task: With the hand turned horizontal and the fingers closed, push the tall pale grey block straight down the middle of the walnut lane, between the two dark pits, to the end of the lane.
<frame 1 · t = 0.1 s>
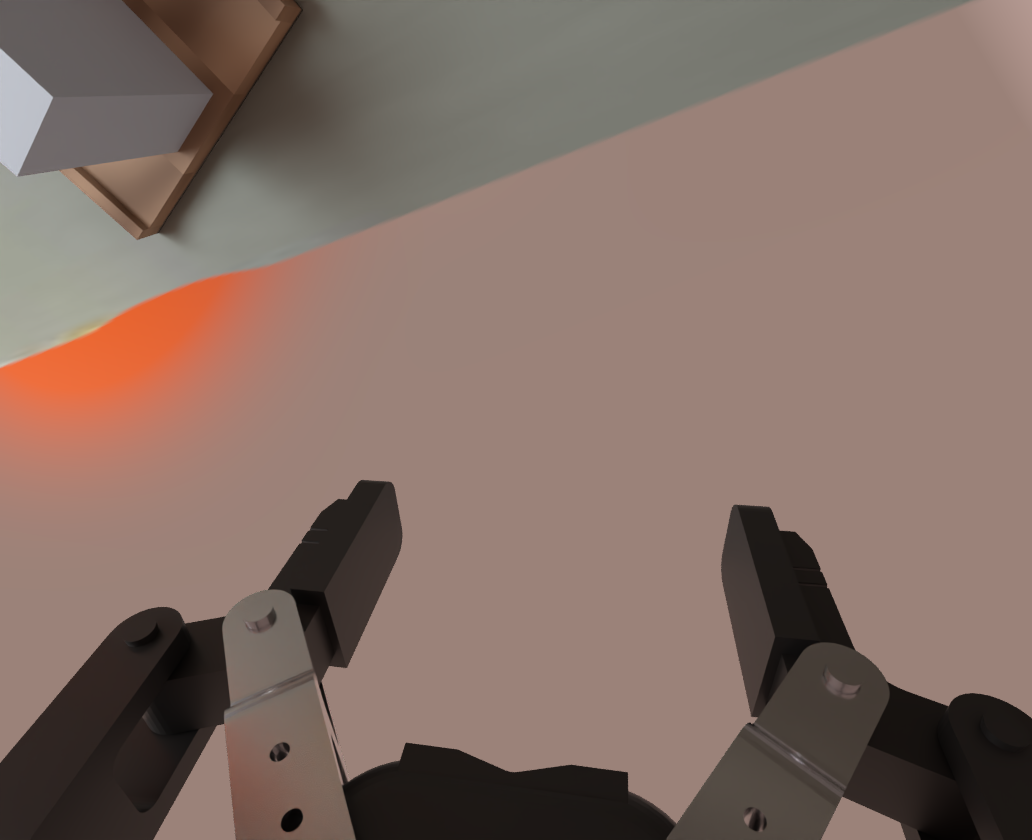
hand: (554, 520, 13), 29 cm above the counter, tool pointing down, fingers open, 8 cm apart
block: (114, 44, 35), point 2 cm above the counter, touching lane
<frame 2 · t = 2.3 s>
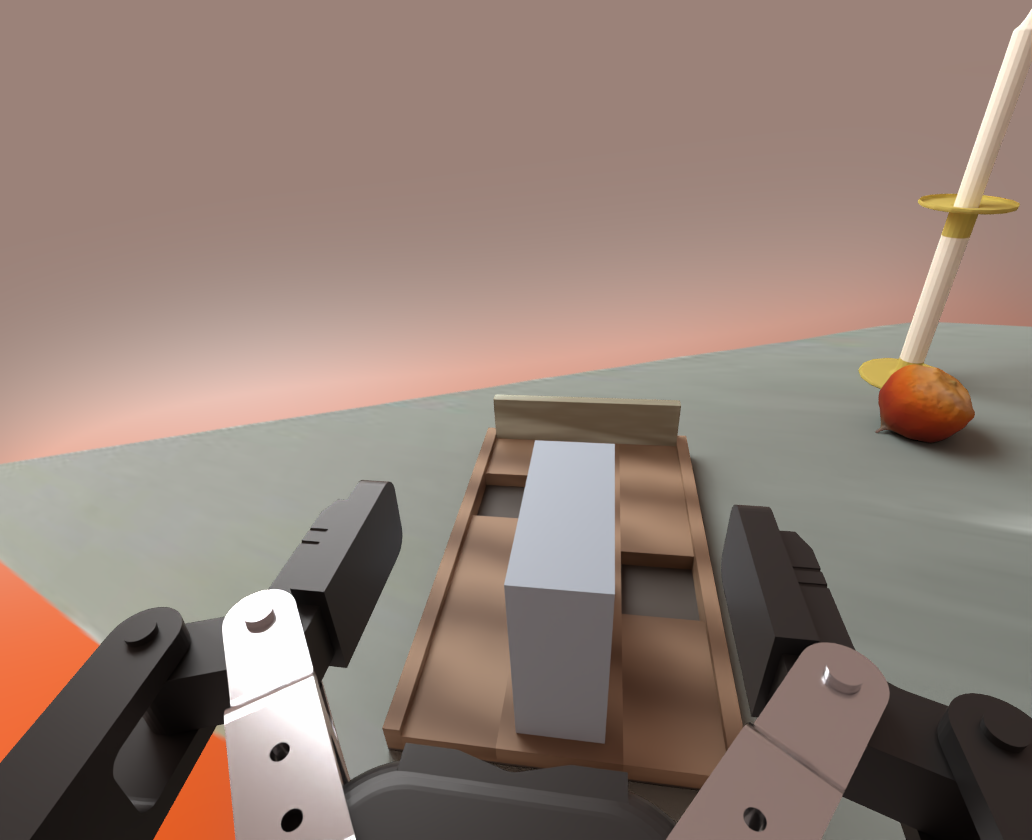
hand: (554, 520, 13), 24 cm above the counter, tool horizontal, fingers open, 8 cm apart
candle: (904, 379, 69), on the counter
fruit: (912, 433, 59), on the counter
lane: (575, 562, 45), on the counter
block: (567, 646, 37), point 2 cm above the counter, touching lane
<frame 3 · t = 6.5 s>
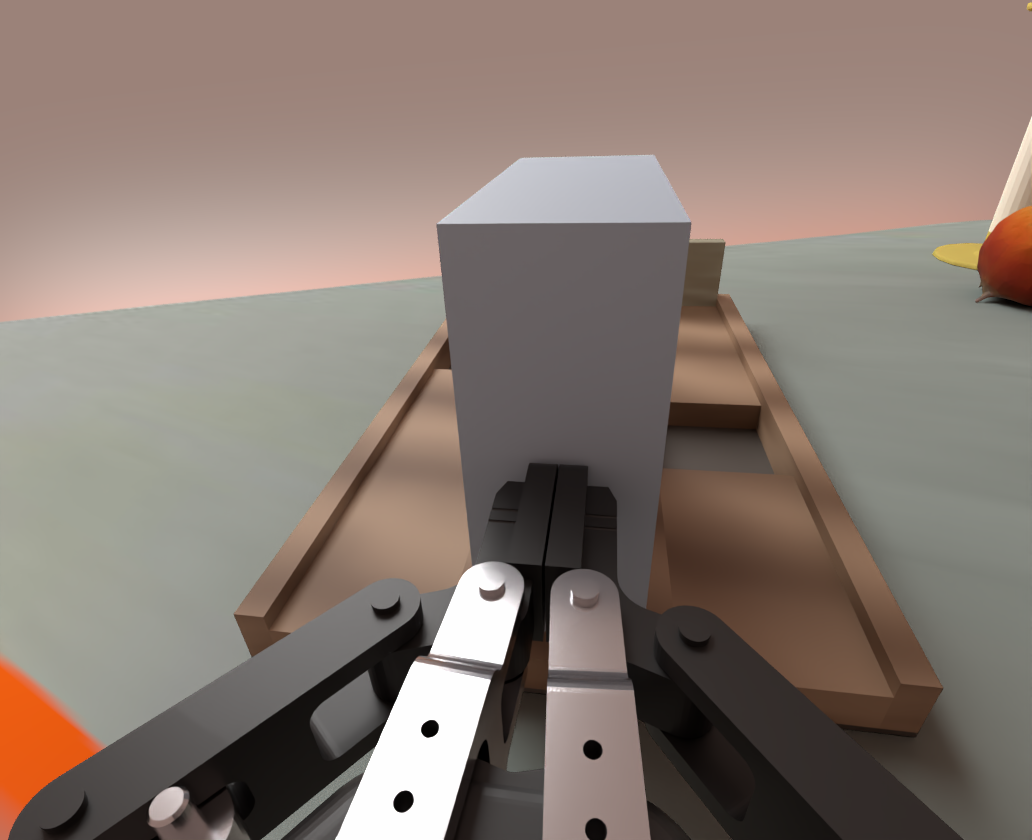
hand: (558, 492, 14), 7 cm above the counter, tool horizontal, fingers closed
candle: (993, 261, 55), on the counter
fruit: (1024, 303, 45), on the counter
lane: (581, 424, 31), on the counter
block: (571, 506, 22), point 2 cm above the counter, touching gripper, lane
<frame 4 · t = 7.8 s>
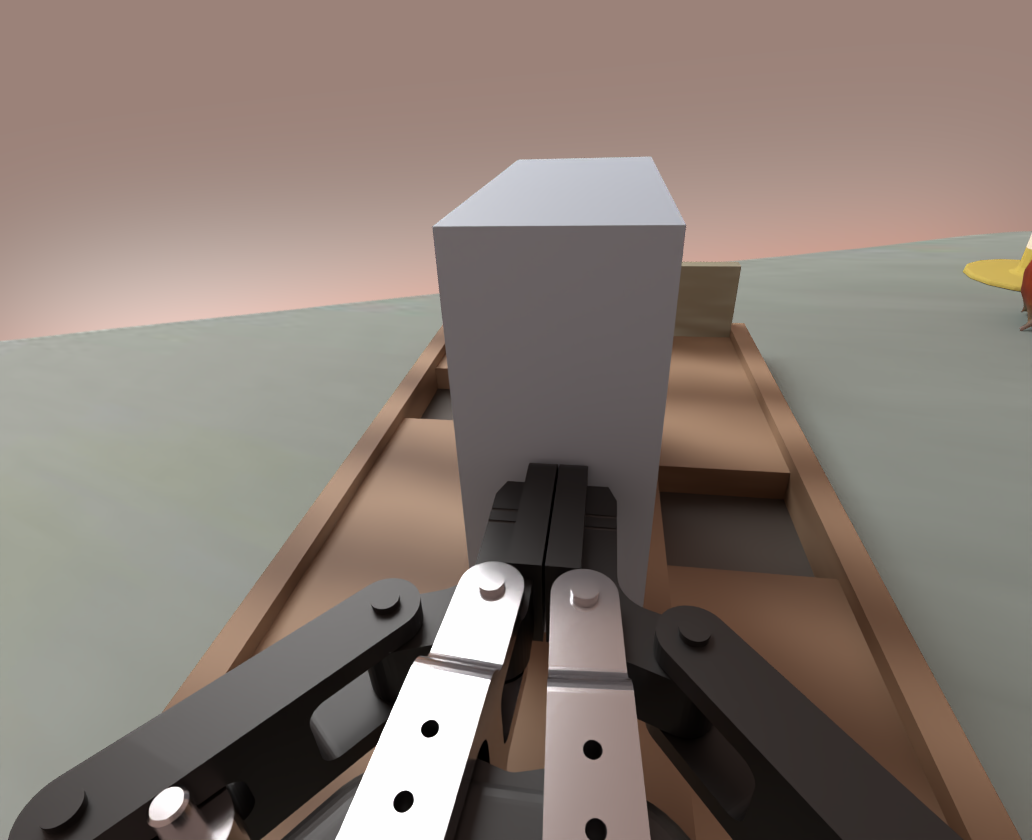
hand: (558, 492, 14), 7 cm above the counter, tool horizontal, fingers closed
candle: (1031, 280, 50), on the counter
lane: (575, 489, 26), on the counter
block: (569, 507, 22), point 2 cm above the counter, touching gripper, lane
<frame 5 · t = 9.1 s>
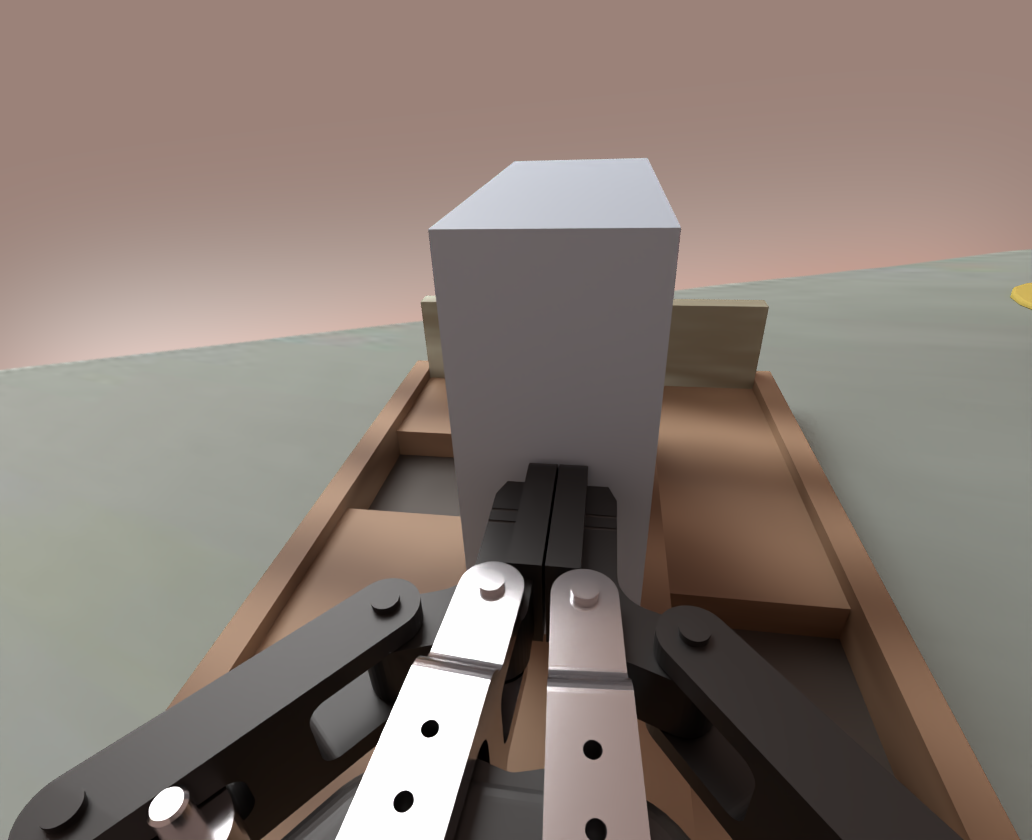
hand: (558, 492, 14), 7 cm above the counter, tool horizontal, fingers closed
lane: (562, 616, 20), on the counter
block: (566, 508, 22), point 2 cm above the counter, touching gripper
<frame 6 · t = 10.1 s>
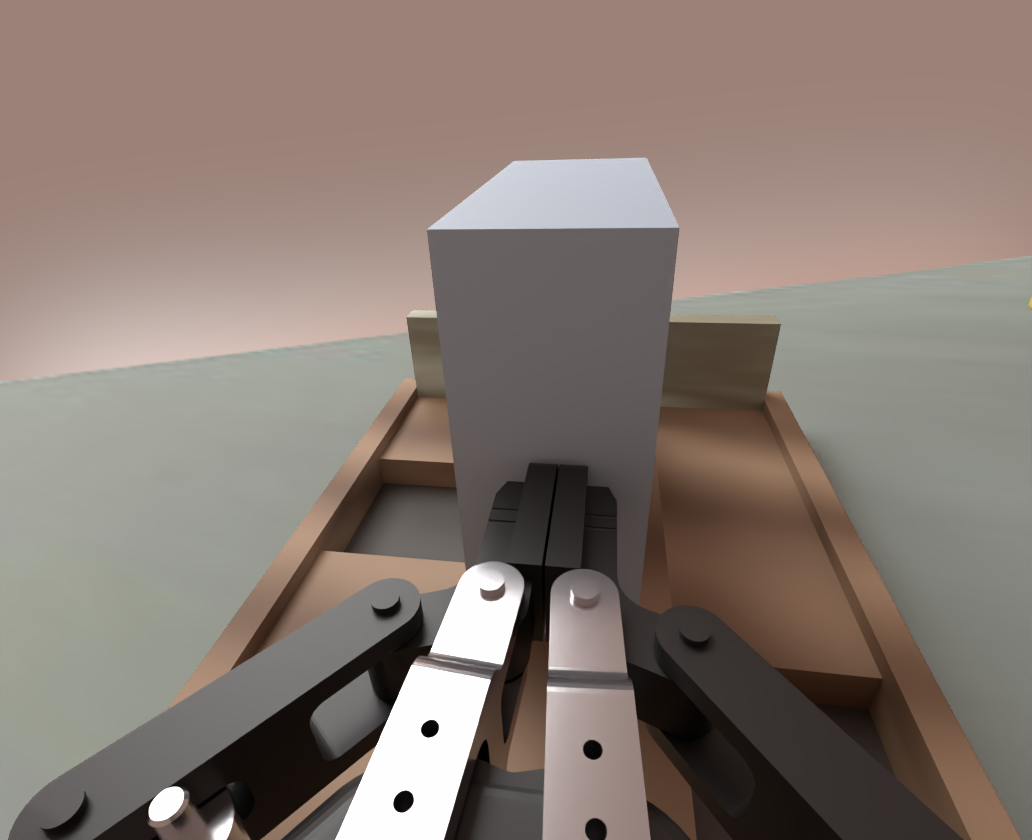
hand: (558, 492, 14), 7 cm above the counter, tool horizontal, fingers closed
lane: (557, 678, 18), on the counter
block: (565, 508, 22), point 2 cm above the counter, touching gripper, lane
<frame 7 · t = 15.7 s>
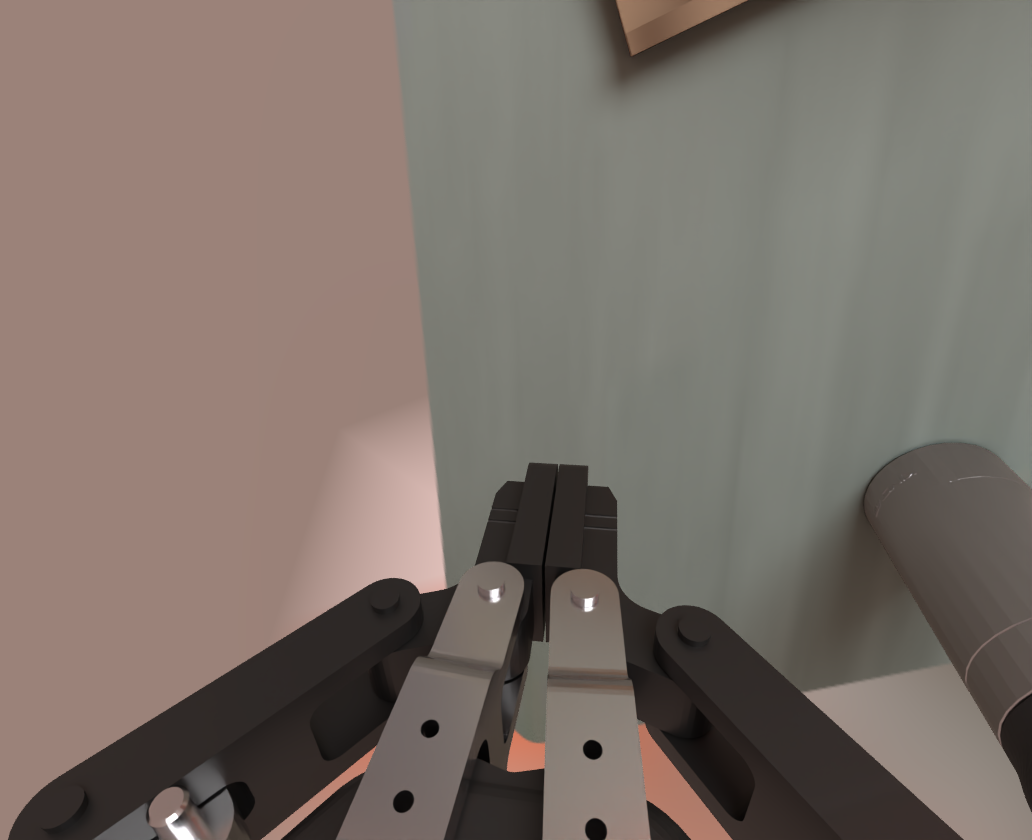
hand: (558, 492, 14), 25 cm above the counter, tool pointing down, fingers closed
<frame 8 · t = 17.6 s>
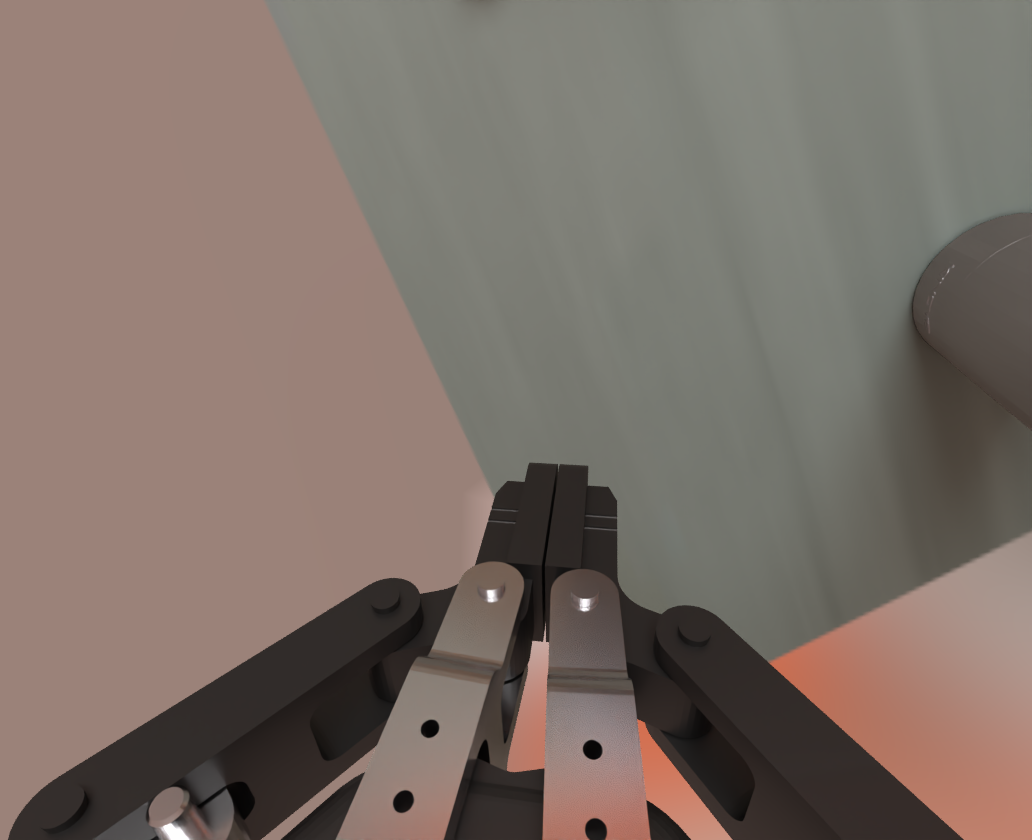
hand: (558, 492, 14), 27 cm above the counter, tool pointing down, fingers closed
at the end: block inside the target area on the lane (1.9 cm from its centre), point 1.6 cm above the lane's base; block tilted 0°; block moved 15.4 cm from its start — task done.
